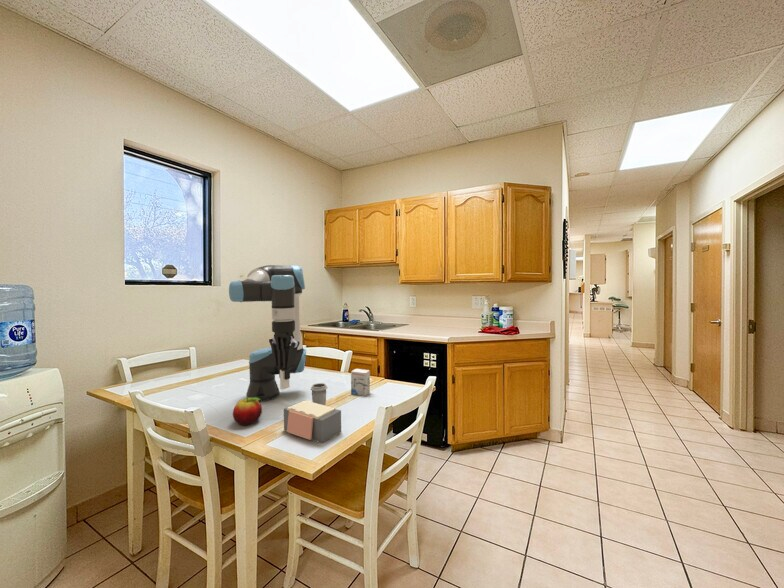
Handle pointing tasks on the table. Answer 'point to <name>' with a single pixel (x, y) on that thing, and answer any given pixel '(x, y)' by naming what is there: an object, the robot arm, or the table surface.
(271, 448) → the table surface
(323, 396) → the cup
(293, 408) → the block
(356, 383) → the ink box
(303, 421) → the pink rectangular panel
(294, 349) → the robot arm
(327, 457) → the table surface
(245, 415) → the fruit
